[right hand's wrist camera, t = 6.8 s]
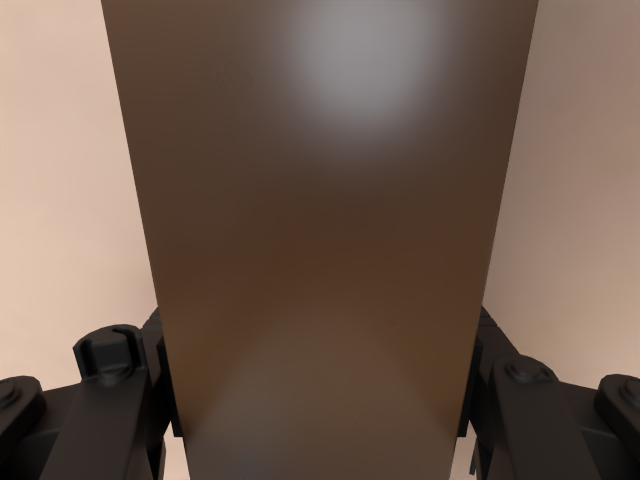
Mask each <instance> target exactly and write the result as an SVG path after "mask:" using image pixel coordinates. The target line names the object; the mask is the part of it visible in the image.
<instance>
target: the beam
mask: <svg viewBox="0 0 640 480" xmlns="http://www.w3.org/2000/svg"><path fill="white" fill-rule="evenodd" d="M101 4H102V9H103V14H104V20H105V25H106V30H107V36H108V41H109V47H110V52H111V57H112V63H113V68H114V73H115V79H116V84H117V89H118V95H119V100H120V105H121V111H122V116H123V122H124V127H125V132H126V138H127V143H128V148H129V154H130V159H131V164H132V170H133V175H134V180H135V186H136V191H137V197H138V202H139V207H140V213H141V218H142V223H143V229H144V234H145V239H146V245H147V250H148V255H149V261H150V266H151V272H152V277H153V282H154V288H155V293H156V298H157V304H158V309H159V314H160V320H161V325H162V330H163V336H164V341H165V347H166V352H167V357H168V363H169V368H170V373H171V379H172V384H173V389H174V395H175V400H176V405H177V411H178V416H179V422H180V427H181V432H182V438H183V443H184V448H185V454H186V459H187V464H188V470H189V475H190V480H449V478H450V473H451V467H452V462H453V457H454V451H455V446H456V441H457V435H458V430H459V424H460V419H461V414H462V408H463V403H464V398H465V392H466V387H467V381H468V376H469V371H470V365H471V360H472V355H473V349H474V344H475V339H476V333H477V328H478V322H479V317H480V312H481V306H482V301H483V296H484V290H485V285H486V279H487V274H488V269H489V263H490V258H491V253H492V247H493V242H494V236H495V231H496V226H497V220H498V215H499V210H500V204H501V199H502V194H503V188H504V183H505V177H506V172H507V167H508V161H509V156H510V151H511V145H512V140H513V134H514V129H515V124H516V118H517V113H518V108H519V102H520V97H521V91H522V86H523V81H524V75H525V70H526V65H527V59H528V54H529V49H530V43H531V38H532V32H533V27H534V22H535V16H536V11H537V6H538V0H101Z"/></svg>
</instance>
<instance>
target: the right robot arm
mask: <svg viewBox="0 0 640 480" xmlns="http://www.w3.org/2000/svg"><path fill="white" fill-rule="evenodd" d="M73 351H74V354H75V358H76V361H77V364H78V368H79V371H80V374H81V378H82V380H81V383H78V384H74V385H70V386H66V387H61V388H56V389H52V390H47V391H42V388H41V385H40V382H39V381H38V380H37V379H36V378H34V377H31V376H17V377H10V378H7V379H3V380H0V480H163V476H164V467H165V457H166V448H165V442H164V437H163V436H164V434H165V432H166V430H167V427H168V425H169V423H170V421H171V424H172V429H173V434H174V437H182V432H181V427H180V422H179V416H178V411H177V405H176V400H175V395H174V389H173V384H172V379H171V373H170V368H169V363H168V357H167V352H166V347H165V341H164V336H163V330H162V325H161V320H160V314H159V309H158V307H157V308H156V310H155V311H154V312H153V313H152V315H151V316H150V317H149V319H148V320H147V321H146V323H145V324H144V325H143V328H141V329H138V328H137V327H136V326H132V325H128V324H120V325H112V326H107V327H103V328H100V329H98V330H95V331H93V332H91V333H89V334H87V335H86V336H84V337H83V338H81V339H80V340H79V341H78V342H77V343H76V344H75V345H74V347H73ZM469 420H470V422H471V424H472V426H473V428H474V430H475V433H476V435H477V437H476V442H475V446H474V451H473V456H472V461H471V465H470V472H469V474H471V475H474V474H475V469H476V475H477V480H640V379H639V378H636V377H633V376H628V375H621V374H612V375H606V376H605V377H604V378H602V379H601V381H600V384H599V387H598V390H596V389H591V388H586V387H582V386H577V385H572V384H568V383H564V382H561V381H559V380H558V378H557V376H556V375H555V374H554V372H553V371H552V370H551V369H550V368H548V367H547V366H546V365H545V364H543V363H542V362H540V361H537V360H535V359H533V358H531V357H528V356H524V355H521V354H519V352H518V351H517V350H516V348H515V347H514V346H513V345H512V343H511V342H510V341H509V339H508V338H507V337H506V335H505V334H504V333H503V332H502V330H501V329H500V328H499V327H497V324H496V323H495V321H494V320H493V319H492V318H491V316H490V315H489V313H488V312H487V311H486V310H485V308H484V307H483V306H481V312H480V317H479V322H478V328H477V333H476V339H475V344H474V349H473V355H472V360H471V365H470V371H469V376H468V381H467V387H466V392H465V398H464V403H463V408H462V414H461V419H460V424H459V430H458V435H457V437H466V433H467V428H468V423H469Z"/></svg>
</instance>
